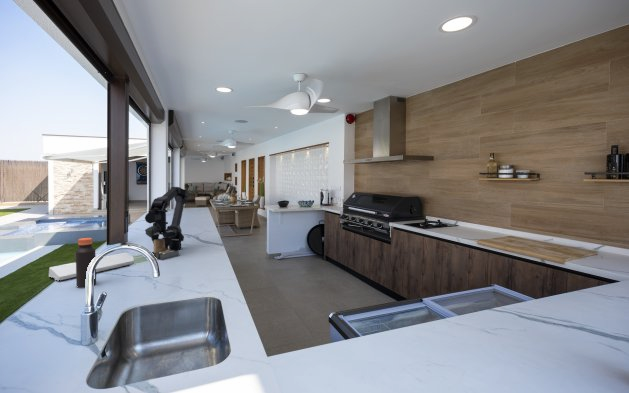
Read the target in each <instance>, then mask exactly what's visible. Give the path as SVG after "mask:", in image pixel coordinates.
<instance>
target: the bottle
mask: <svg viewBox="0 0 629 393" xmlns="http://www.w3.org/2000/svg"><path fill="white" fill-rule="evenodd" d="M77 242H78V243H77V244H78V248H77V249H76V251H75V262H76V277H75V278H76V280H75V282H76V287H77V286H78V287H85V279H86V271H87V267H88V265H89V263H90V262H91V260H92V259H93V258H94V257H96V249H95V248H94V247H93V246H92V245H93V238H92V237H84V238H83V237H82V238H78V239H77ZM96 285H97V272H96V269H95V279H94V286H96ZM78 287H77V288H78Z"/></svg>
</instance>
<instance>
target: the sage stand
mask: <svg viewBox="0 0 629 393" xmlns="http://www.w3.org/2000/svg"><path fill="white" fill-rule="evenodd" d="M142 254H143V253H141V254H137V255H131V256H132V257H134V258H133V260H136V261H134V263H133V264H132V265H140V264H144V263H148V262H149V261H148V260H147V259H146V257H144V256H143V255H142Z"/></svg>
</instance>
